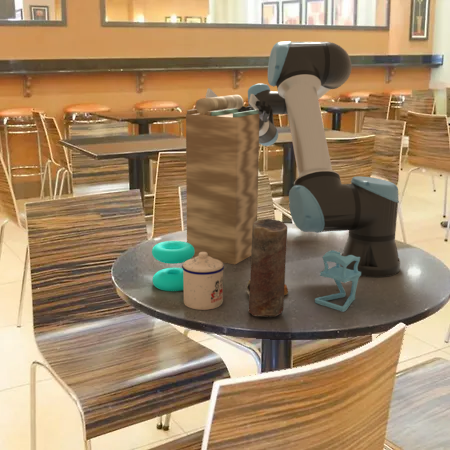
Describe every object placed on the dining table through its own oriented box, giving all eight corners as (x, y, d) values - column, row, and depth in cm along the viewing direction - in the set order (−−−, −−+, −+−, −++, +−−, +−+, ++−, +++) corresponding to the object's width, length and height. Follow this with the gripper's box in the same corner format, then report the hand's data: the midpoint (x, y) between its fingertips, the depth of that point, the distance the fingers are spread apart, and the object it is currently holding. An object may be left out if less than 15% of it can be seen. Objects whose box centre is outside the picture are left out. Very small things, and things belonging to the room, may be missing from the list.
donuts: (197, 250, 149) (153, 252, 147) (197, 291, 151) (154, 294, 150) (191, 238, 158) (150, 240, 157) (191, 277, 161) (151, 279, 159)
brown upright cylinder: (283, 307, 142) (286, 218, 137) (285, 321, 135) (288, 228, 130) (248, 307, 143) (249, 218, 137) (248, 320, 136) (250, 227, 130)
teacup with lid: (219, 312, 140) (219, 260, 137) (177, 309, 141) (177, 257, 138) (229, 292, 151) (230, 244, 148) (191, 289, 153) (191, 241, 150)
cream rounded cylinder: (231, 109, 184) (230, 94, 183) (243, 109, 182) (243, 94, 181) (196, 114, 169) (195, 98, 168) (209, 114, 167) (208, 98, 166)
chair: (364, 301, 146) (367, 250, 143) (343, 312, 140) (346, 258, 137) (335, 293, 151) (337, 243, 148) (314, 302, 145) (316, 251, 142)
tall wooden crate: (210, 244, 188) (210, 106, 178) (256, 252, 180) (259, 109, 170) (187, 255, 178) (185, 110, 168) (234, 264, 170) (236, 113, 160)
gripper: (287, 138, 198) (266, 113, 179) (214, 127, 209) (186, 102, 189) (294, 115, 199) (273, 88, 180) (221, 104, 209) (193, 78, 190)
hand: (228, 95), depth 185 cm, fingers open, 13 cm apart
